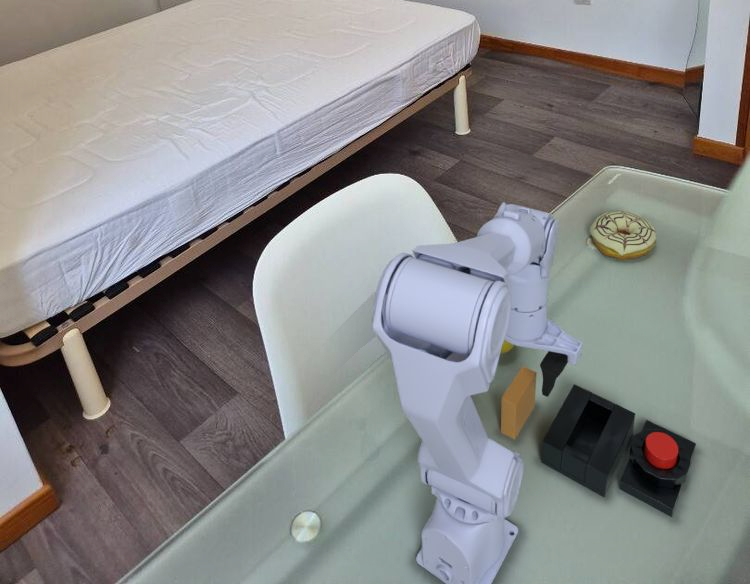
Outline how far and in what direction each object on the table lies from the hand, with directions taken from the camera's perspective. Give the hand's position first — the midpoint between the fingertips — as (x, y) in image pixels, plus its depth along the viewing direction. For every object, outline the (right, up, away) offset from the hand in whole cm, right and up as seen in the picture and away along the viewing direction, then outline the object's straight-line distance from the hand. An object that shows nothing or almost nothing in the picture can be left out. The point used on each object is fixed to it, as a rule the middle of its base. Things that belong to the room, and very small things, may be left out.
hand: (519, 376), depth 87 cm
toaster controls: (+16, -10, -4) cm, 19 cm away
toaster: (+8, -9, -1) cm, 12 cm away
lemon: (0, -2, +14) cm, 14 cm away
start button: (+16, -7, -5) cm, 18 cm away
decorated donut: (+25, +9, +33) cm, 43 cm away
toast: (0, -7, +3) cm, 8 cm away
